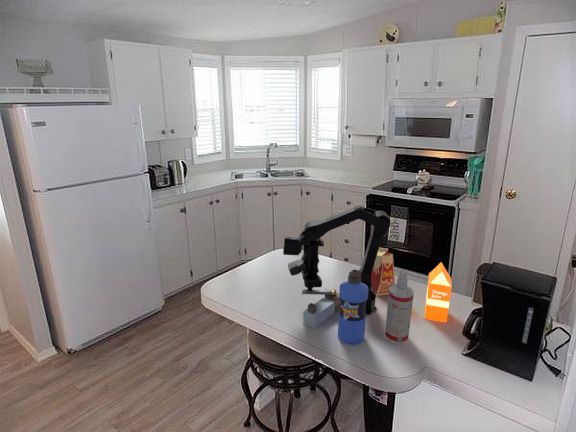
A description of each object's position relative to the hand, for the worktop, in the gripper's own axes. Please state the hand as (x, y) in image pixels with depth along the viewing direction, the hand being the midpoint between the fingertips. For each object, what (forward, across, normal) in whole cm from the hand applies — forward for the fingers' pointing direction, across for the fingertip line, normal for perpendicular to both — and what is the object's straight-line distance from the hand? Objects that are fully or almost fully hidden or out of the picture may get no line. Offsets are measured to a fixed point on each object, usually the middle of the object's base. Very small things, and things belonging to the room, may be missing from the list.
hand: (309, 291), depth 146 cm
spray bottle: (+5, +23, +27) cm, 36 cm away
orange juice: (+6, +10, +47) cm, 48 cm away
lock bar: (0, +2, +4) cm, 4 cm away
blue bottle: (+6, +21, +12) cm, 25 cm away
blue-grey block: (+6, +9, +3) cm, 11 cm away
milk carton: (+7, -10, +32) cm, 35 cm away
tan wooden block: (+6, +3, +9) cm, 11 cm away
